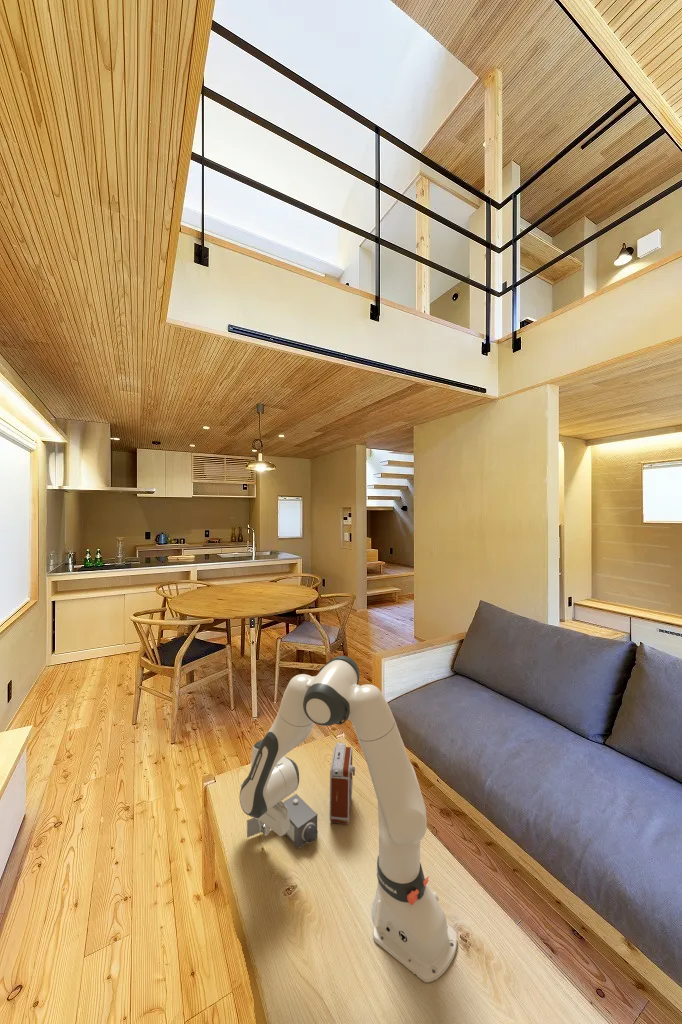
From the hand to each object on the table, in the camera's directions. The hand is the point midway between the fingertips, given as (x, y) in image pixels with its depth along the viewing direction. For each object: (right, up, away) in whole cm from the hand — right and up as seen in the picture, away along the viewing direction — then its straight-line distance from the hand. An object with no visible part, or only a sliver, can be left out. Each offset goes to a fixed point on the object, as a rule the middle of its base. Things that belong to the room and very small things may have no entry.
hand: (264, 832), depth 122 cm
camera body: (+11, -4, +5) cm, 12 cm away
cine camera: (+25, -5, +17) cm, 31 cm away
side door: (-2, -4, +4) cm, 6 cm away
